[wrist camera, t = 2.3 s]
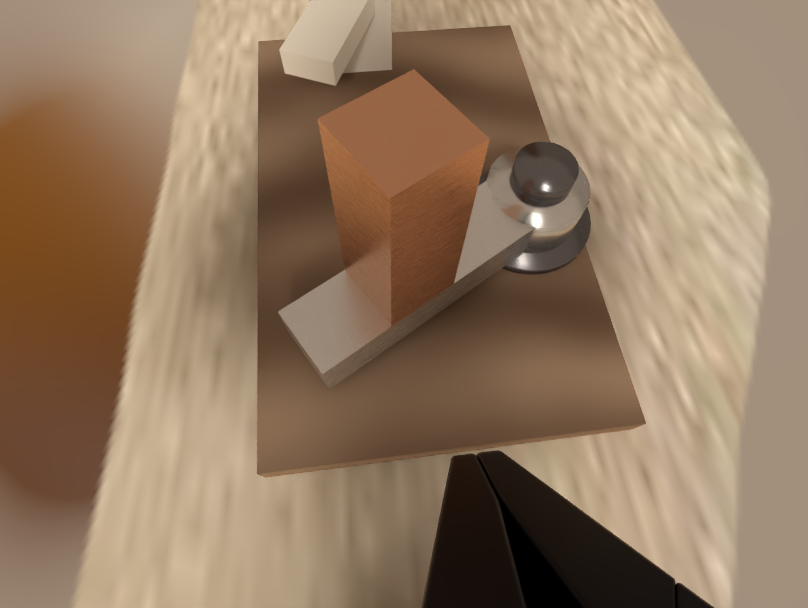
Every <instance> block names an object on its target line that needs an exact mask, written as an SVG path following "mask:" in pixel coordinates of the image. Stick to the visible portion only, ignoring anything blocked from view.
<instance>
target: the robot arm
mask: <svg viewBox="0 0 808 608" xmlns="http://www.w3.org/2000/svg"><path fill="white" fill-rule="evenodd" d="M421 608H714V607H713V606H711V605H710V604H708V603H707V602H706V601H704V600H703V599H702V598H700V597H699V596H697V595H696V594H695V593H693V592H692V591H691V590H689V589H688V588H687V587H685V586H684V585H683V584H681V583H677V584H676V585H675V579H674V578H673V577H671V576H670V575H669V574H667V573H666V572H665V571H663V570H662V569H660V568H659V567H658V566H656V565H655V564H654V563H652V562H651V561H650V560H648V559H647V558H645V557H644V556H643V555H641V554H640V553H639V552H637V551H636V550H635V549H633V548H632V547H631V546H629V545H628V544H626V543H625V542H624V541H622V540H621V539H620V538H618V537H617V536H616V535H614V534H613V533H612V532H610V531H609V530H607V529H606V528H605V527H603V526H602V525H601V524H599V523H598V522H597V521H595V520H594V519H592V518H591V517H590V516H588V515H587V514H586V513H584V512H583V511H582V510H580V509H579V508H578V507H576V506H575V505H573V504H572V503H571V502H569V501H568V500H567V499H565V498H564V497H563V496H561V495H560V494H558V493H557V492H556V491H554V490H553V489H552V488H550V487H549V486H548V485H546V484H545V483H544V482H542V481H541V480H539V479H538V478H537V477H535V476H534V475H533V474H531V473H530V472H529V471H527V470H526V469H525V468H523V467H522V466H520V465H519V464H518V463H516V462H515V461H514V460H512V459H511V458H510V457H508V456H507V455H505V454H504V453H503V452H501V451H489V452H481V453H478V454H477V456H476V455H474V454H465V455H457V456H453V457H452V459H451V463H450V468H449V473H448V478H447V483H446V488H445V493H444V498H443V503H442V508H441V513H440V518H439V523H438V528H437V533H436V538H435V543H434V548H433V553H432V558H431V562H430V567H429V572H428V577H427V582H426V587H425V592H424V597H423V602H422V607H421Z"/></svg>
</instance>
